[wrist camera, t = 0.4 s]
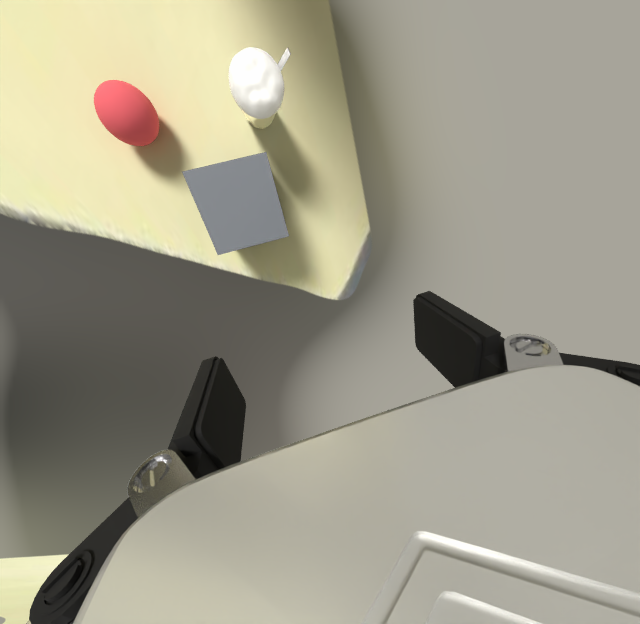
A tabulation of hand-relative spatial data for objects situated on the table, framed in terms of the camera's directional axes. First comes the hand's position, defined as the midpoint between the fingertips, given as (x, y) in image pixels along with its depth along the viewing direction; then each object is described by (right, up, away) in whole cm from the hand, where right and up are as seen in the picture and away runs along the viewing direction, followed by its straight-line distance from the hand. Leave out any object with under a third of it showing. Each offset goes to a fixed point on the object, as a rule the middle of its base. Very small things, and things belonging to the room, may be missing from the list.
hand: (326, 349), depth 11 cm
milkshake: (-7, +25, +16) cm, 31 cm away
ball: (-19, +21, +12) cm, 31 cm away
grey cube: (-10, +16, +20) cm, 27 cm away
